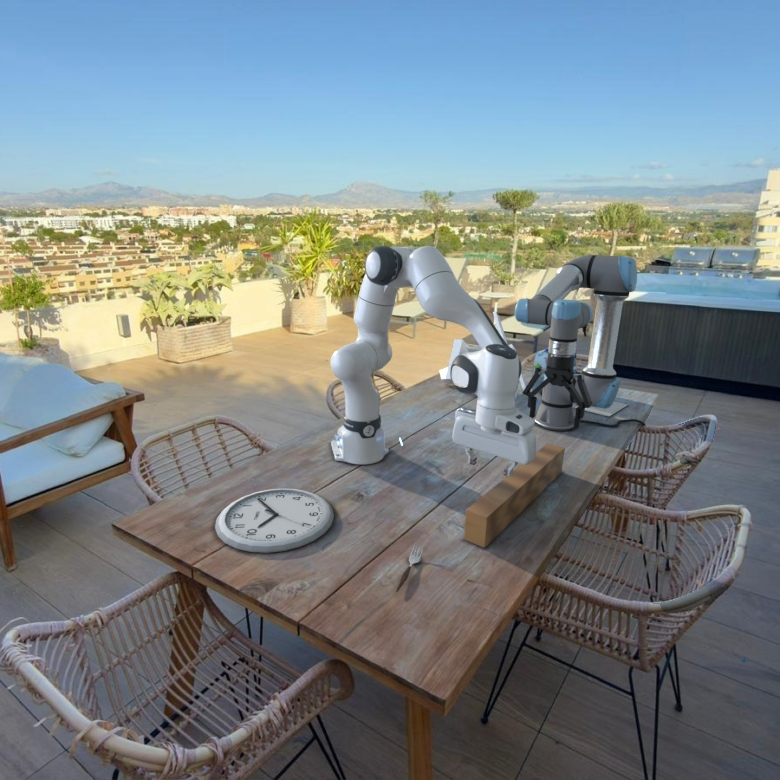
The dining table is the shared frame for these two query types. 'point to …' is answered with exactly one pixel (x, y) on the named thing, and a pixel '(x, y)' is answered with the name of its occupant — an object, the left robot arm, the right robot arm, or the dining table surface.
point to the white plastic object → (462, 348)
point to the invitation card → (608, 411)
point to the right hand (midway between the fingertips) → (553, 423)
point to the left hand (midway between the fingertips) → (489, 469)
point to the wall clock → (274, 520)
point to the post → (512, 496)
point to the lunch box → (542, 361)
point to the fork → (413, 560)
